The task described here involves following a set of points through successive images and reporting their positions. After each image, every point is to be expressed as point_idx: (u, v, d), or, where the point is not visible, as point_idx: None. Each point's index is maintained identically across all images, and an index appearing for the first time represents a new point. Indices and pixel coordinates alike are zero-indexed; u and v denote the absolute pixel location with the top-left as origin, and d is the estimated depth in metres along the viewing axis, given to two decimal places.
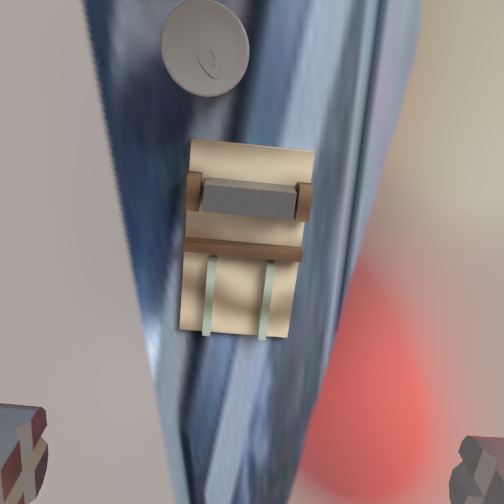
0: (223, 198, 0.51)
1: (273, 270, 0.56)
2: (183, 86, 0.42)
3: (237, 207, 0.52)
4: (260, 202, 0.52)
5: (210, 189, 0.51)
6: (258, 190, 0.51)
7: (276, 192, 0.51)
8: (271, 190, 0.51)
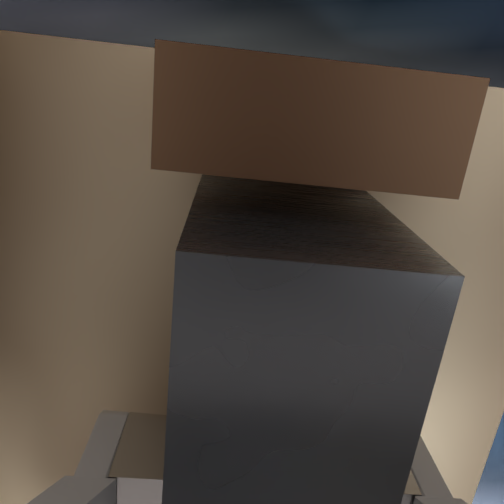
0: (308, 435, 0.06)
1: None
2: None
3: None
4: None
5: (404, 333, 0.05)
6: None
7: None
8: None
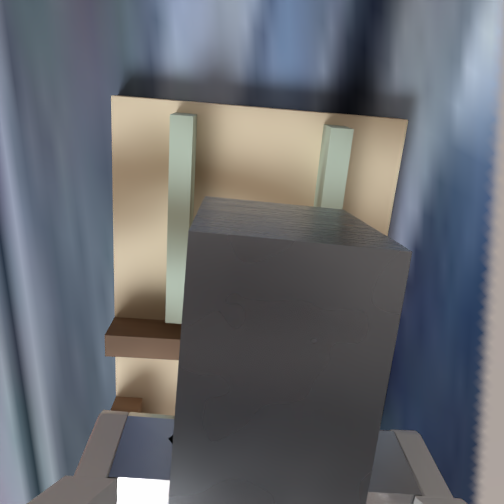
0: (294, 389, 0.07)
1: (169, 314, 0.23)
2: None
3: (223, 486, 0.07)
4: None
5: (368, 299, 0.07)
6: None
7: None
8: None
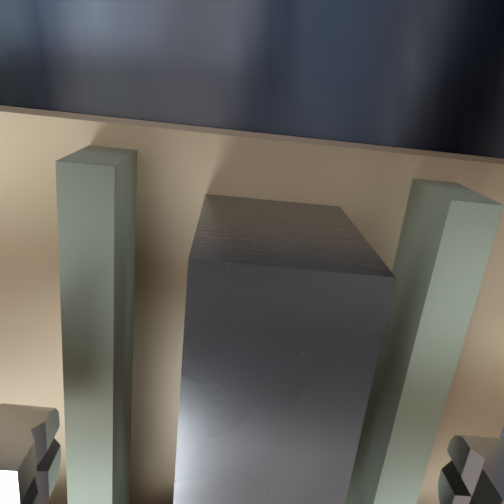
0: (286, 395, 0.08)
1: None
2: None
3: (223, 473, 0.08)
4: None
5: (354, 318, 0.07)
6: None
7: None
8: None
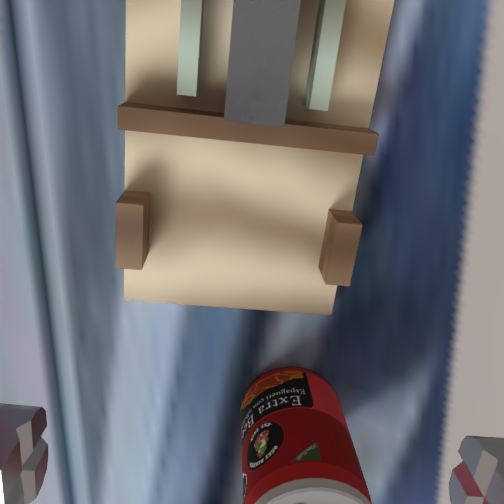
0: None
1: (180, 85, 0.24)
2: (351, 498, 0.26)
3: None
4: (264, 39, 0.22)
5: None
6: (293, 35, 0.22)
7: (288, 79, 0.23)
8: None
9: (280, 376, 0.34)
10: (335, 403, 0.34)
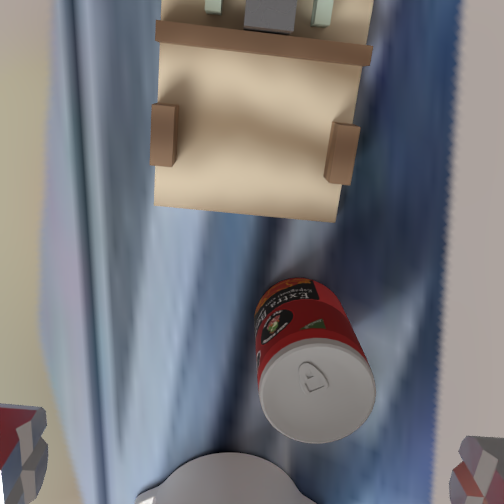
0: None
1: (208, 2, 0.30)
2: (352, 355, 0.30)
3: None
4: None
5: None
6: None
7: None
8: None
9: (290, 282, 0.38)
10: (339, 304, 0.38)
